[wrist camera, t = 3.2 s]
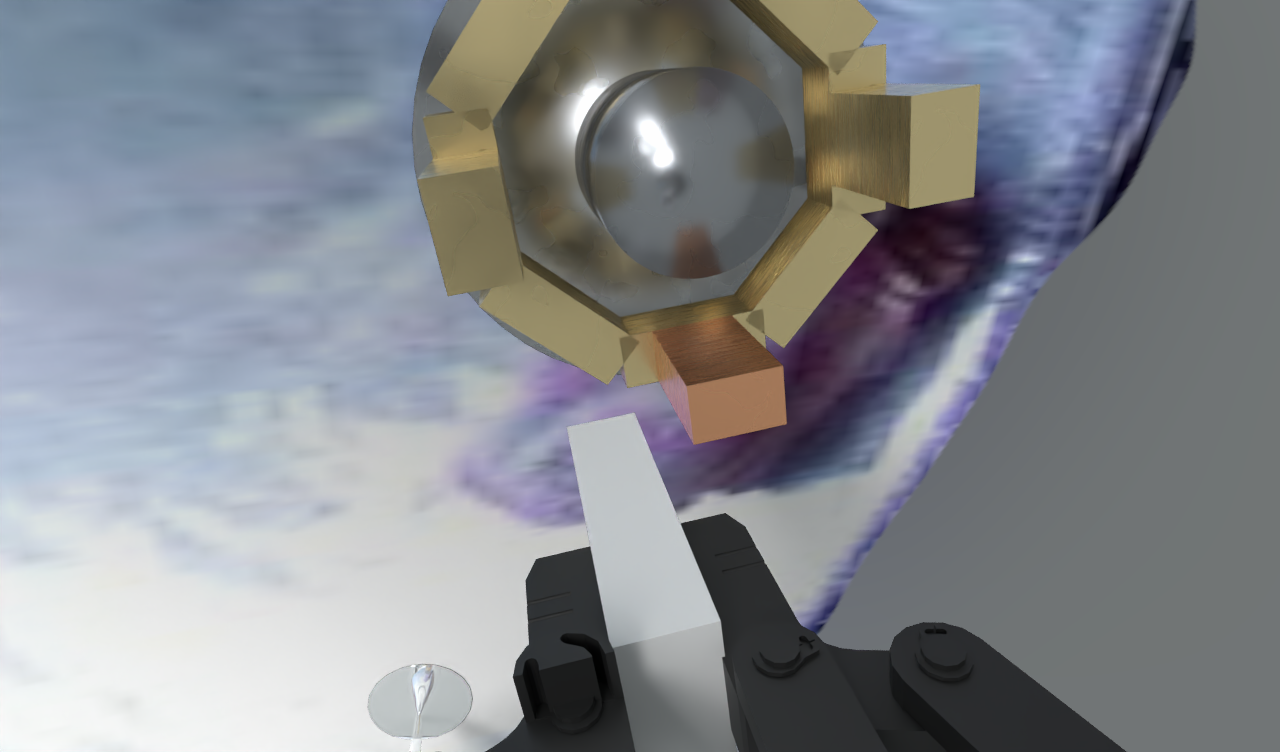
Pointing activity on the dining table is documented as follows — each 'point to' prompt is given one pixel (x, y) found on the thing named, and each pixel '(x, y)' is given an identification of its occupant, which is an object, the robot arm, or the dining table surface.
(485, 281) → the gold crown
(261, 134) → the dining table surface
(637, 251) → the silver round piece
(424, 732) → the wineglass
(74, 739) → the dining table surface
